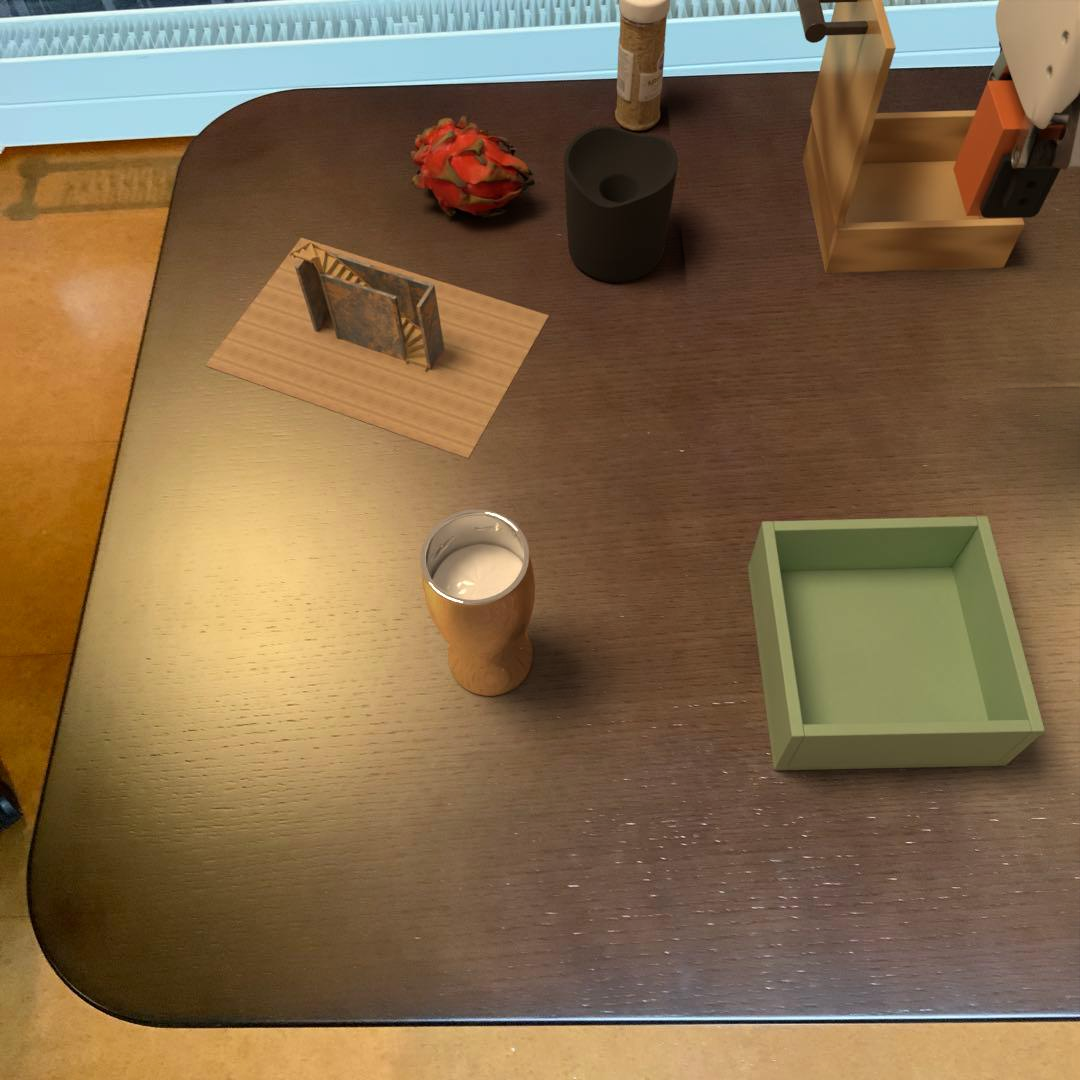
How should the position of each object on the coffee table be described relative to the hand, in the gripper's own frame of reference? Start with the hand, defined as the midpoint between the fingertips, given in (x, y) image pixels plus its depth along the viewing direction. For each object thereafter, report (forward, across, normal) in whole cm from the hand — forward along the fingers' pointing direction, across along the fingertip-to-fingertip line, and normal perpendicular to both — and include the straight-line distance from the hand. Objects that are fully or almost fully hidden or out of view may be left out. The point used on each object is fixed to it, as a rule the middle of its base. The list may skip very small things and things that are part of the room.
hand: (999, 182), depth 61 cm
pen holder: (+27, +22, +20) cm, 40 cm away
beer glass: (+27, -18, +31) cm, 45 cm away
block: (+1, 0, 0) cm, 1 cm away
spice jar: (+27, +40, +18) cm, 51 cm away
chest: (+26, +26, -6) cm, 37 cm away
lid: (+12, +25, +2) cm, 28 cm away
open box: (+27, -19, +4) cm, 33 cm away
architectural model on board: (+27, +12, +41) cm, 51 cm away
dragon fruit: (+27, +29, +34) cm, 52 cm away
